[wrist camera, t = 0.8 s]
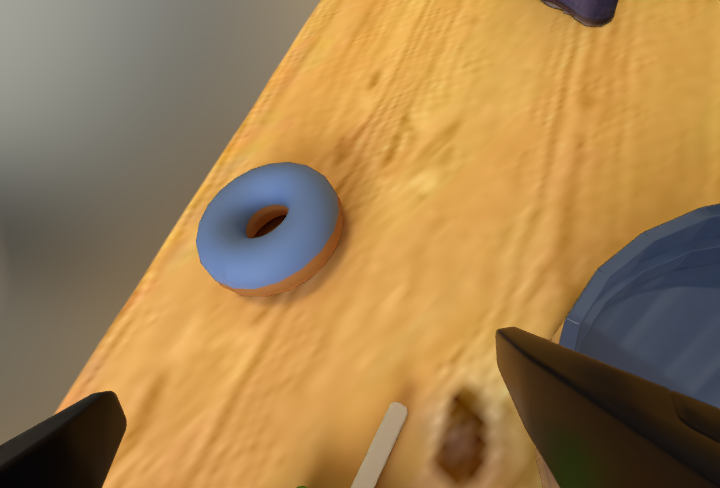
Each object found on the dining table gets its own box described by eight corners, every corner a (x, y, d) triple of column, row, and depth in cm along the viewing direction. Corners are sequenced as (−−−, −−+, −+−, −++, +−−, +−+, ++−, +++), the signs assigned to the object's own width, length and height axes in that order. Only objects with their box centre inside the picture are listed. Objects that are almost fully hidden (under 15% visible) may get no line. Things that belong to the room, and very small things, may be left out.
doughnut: (259, 178, 31) (229, 138, 27) (370, 195, 27) (353, 153, 24) (198, 287, 27) (153, 259, 24) (317, 325, 24) (286, 300, 20)
